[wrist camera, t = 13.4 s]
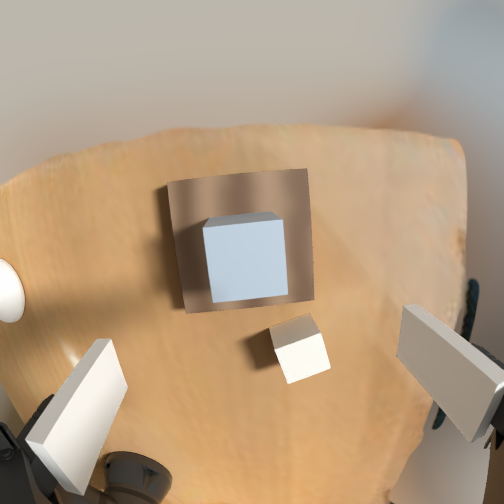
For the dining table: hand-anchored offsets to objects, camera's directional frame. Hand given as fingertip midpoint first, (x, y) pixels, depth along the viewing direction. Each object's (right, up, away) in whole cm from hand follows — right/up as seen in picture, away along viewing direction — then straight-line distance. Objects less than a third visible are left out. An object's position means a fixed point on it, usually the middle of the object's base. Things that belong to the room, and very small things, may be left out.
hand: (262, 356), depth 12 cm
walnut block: (-2, +6, +26) cm, 27 cm away
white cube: (+6, -8, +29) cm, 31 cm away
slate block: (-1, +5, +22) cm, 23 cm away
